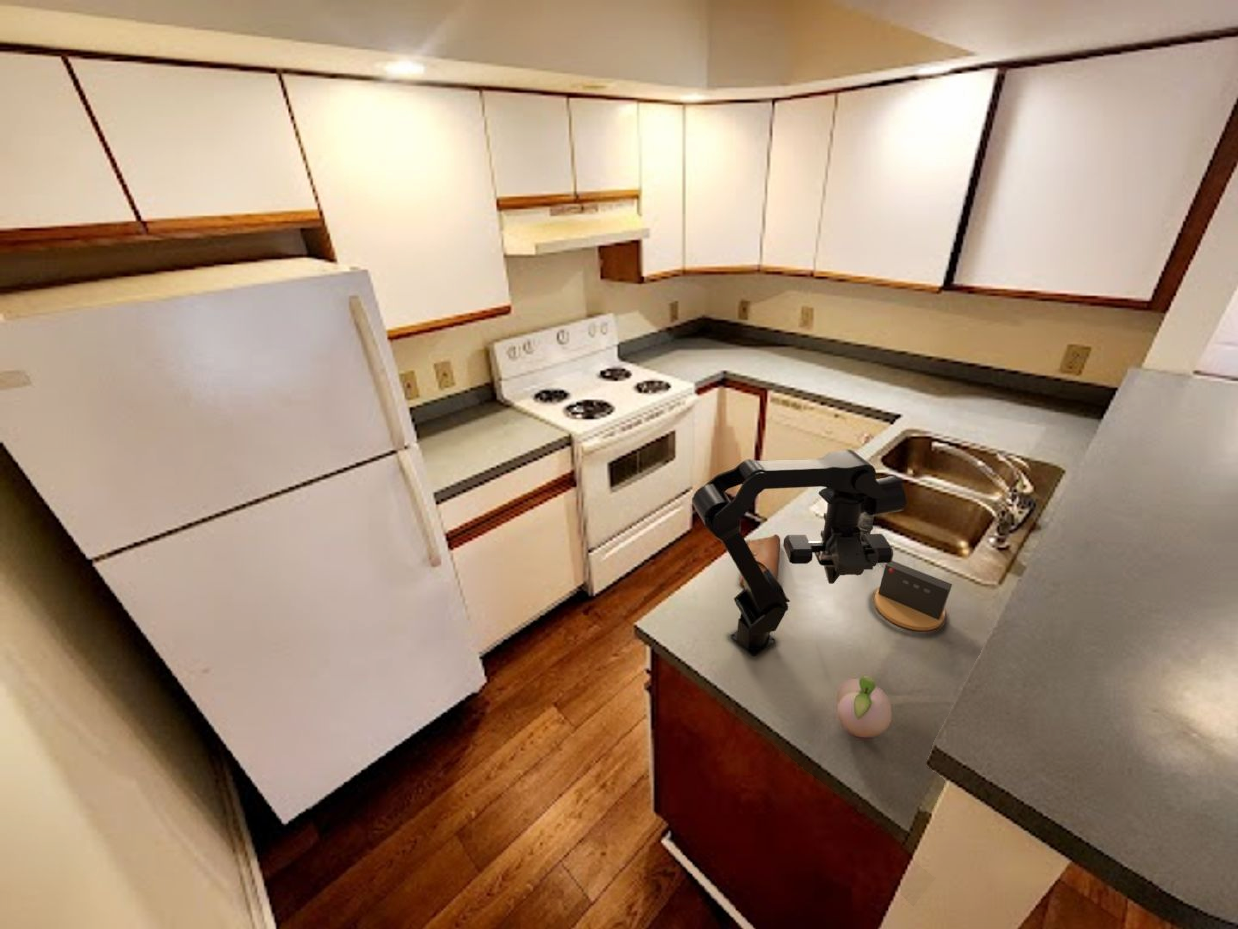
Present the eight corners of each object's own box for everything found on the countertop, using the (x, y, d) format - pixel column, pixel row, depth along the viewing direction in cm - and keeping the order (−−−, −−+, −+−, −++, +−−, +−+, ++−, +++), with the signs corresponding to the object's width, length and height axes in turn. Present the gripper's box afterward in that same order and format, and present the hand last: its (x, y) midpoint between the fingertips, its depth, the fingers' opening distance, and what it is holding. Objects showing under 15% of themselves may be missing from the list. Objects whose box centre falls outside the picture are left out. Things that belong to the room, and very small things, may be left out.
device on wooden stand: (932, 641, 105) (944, 607, 100) (864, 609, 113) (872, 577, 108) (951, 604, 113) (963, 571, 109) (887, 577, 121) (895, 546, 117)
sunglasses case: (745, 539, 136) (760, 522, 133) (768, 553, 137) (784, 537, 133) (738, 585, 121) (755, 568, 118) (764, 602, 122) (782, 585, 118)
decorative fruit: (885, 760, 85) (899, 720, 81) (831, 743, 88) (841, 704, 83) (883, 711, 93) (895, 672, 88) (834, 697, 96) (842, 659, 91)
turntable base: (921, 646, 105) (922, 643, 104) (857, 606, 115) (858, 602, 115) (958, 615, 112) (959, 611, 111) (894, 579, 122) (895, 576, 121)
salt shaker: (857, 560, 128) (866, 519, 122) (841, 546, 133) (849, 506, 127) (878, 555, 129) (887, 514, 124) (861, 541, 134) (870, 501, 129)
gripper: (802, 545, 91) (792, 612, 98) (915, 543, 90) (895, 612, 97) (787, 508, 100) (778, 572, 108) (888, 506, 99) (872, 571, 107)
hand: (830, 582), depth 105 cm, fingers closed
